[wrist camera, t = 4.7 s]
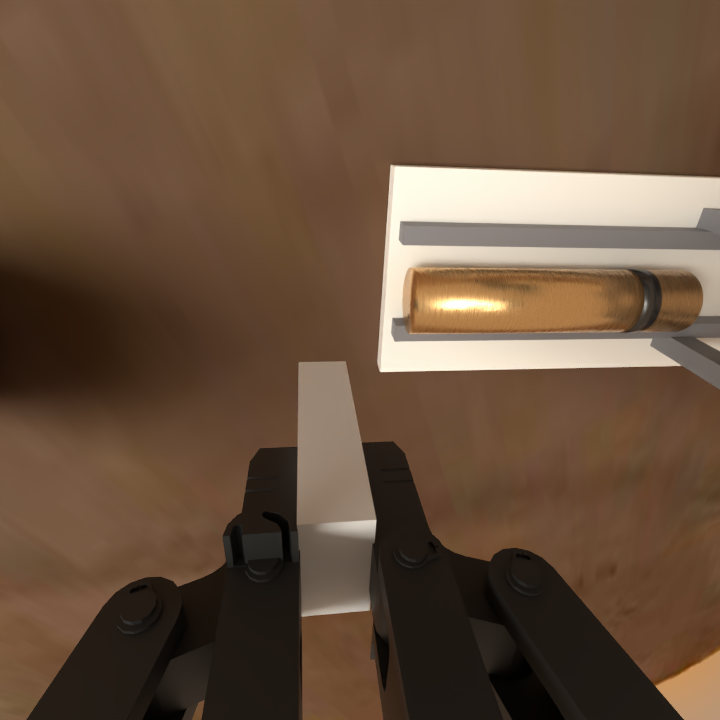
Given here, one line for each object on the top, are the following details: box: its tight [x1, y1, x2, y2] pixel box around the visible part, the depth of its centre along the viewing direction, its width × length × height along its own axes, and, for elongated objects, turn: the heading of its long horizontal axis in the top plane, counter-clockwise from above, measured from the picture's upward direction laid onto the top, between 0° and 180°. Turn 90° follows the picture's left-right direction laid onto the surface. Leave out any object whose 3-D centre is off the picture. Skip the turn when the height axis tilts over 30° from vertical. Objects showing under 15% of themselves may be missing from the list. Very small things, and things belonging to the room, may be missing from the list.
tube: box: [402, 267, 703, 334], centre depth 25 cm, size 16×4×4 cm, turn 88°
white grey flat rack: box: [377, 165, 720, 389], centre depth 24 cm, size 30×12×8 cm, turn 88°
